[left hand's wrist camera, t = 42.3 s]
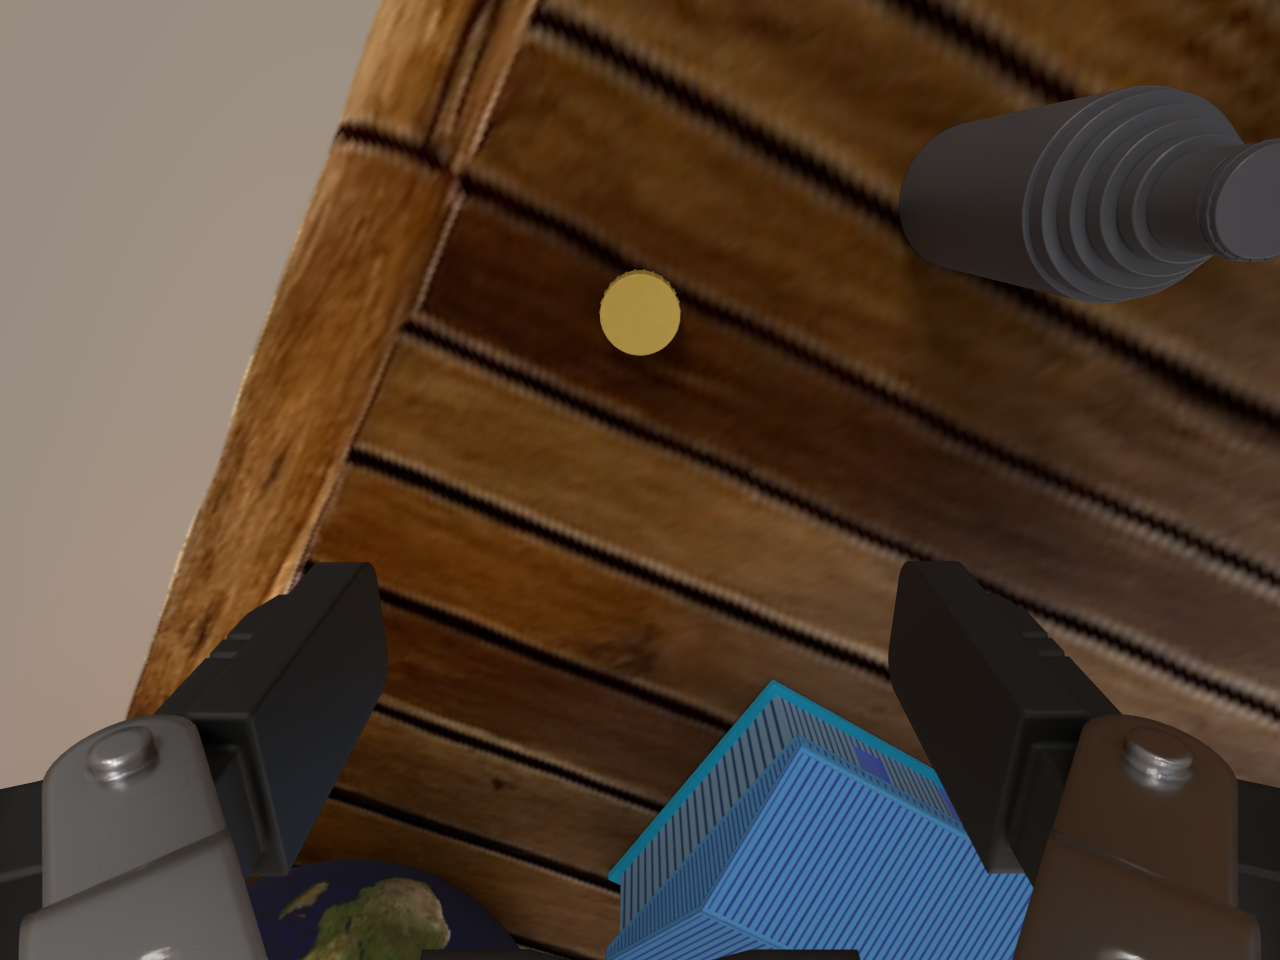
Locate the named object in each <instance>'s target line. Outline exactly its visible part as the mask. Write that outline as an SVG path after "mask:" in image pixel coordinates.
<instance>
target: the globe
mask: <svg viewBox="0 0 1280 960" xmlns="http://www.w3.org/2000/svg"><path fill="white" fill-rule="evenodd" d="M246 888H247V891H248V894H249V898H250V901H251V904H252V908H253V911H254V914H255V918H256V921H257V924H258V928H259V931H260V935H261V938H262V941H263V945H264V948H265V951H266V955H267V958H268V960H419V959H420V956H421V952H422V949H520V948H519V947H518V945H517V944H516V943H515V941H514V940H513V938H512V937H511V936H510V934H509V933H508V932H507V931H506V929H505V928H504V927H503V926H502V925H501V923H500V922H499V921H498V920H497V919H496V918H495V917H494V916H493V915H492V914H491V913H490V912H489V911H488V910H487V909H485V908H484V907H483V906H482V905H481V904H480V903H479V902H477V901H476V900H475V899H474V898H472V897H471V896H470V895H468V894H467V893H465V892H464V891H462V890H461V889H459V888H457V887H456V886H454V885H453V884H451V883H449V882H447V881H445V880H443V879H441V878H439V877H437V876H434V875H432V874H430V873H427V872H424V871H422V870H419V869H415V868H412V867H409V866H406V865H401V864H396V863H391V862H386V861H377V860H364V859H351V860H334V861H324V862H319V863H313V864H307V865H302V866H298V867H295V868H291V869H290V871H289V873H288V875H287V876H266V877H263V878H261V879H258V880H255V881H253V882H251V883H249V884H247V885H246Z"/></svg>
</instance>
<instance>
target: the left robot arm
mask: <svg viewBox="0 0 1280 960" xmlns="http://www.w3.org/2000/svg"><path fill="white" fill-rule="evenodd" d="M1047 635H1048V634H1047V633H1046V631H1045V630H1044V629H1043V628H1042V627H1041V626H1040V625H1039V624H1038V623H1037V622H1036V621H1035V620H1034V618H1033V617H1032V616H1031V615H1030V614H1029V613H1028V612H1027V611H1025V610H1023V609H1022V608H1020V607H1018V606H1017V605H1015V604H1013V603H1012V602H1010V601H1008V600H1007V599H1005V598H1003V597H1002V596H1000V595H998V594H996V593H987V592H986V591H985V590H984V589H983V588H982V587H981V586H980V584H979V583H978V582H977V581H976V580H975V579H974V577H973V576H972V575H971V574H970V573H969V572H968V571H967V569H966V568H965V567H964V566H963V565H962V564H961V563H960V562H958V561H907V562H906V563H904V565H903V566H902V569H901V572H900V576H899V582H898V589H897V595H896V602H895V609H894V616H893V623H892V630H891V637H890V644H889V654H888V663H889V673H890V678H891V683H892V686H893V689H894V691H895V694H896V695H897V697H898V699H899V701H900V703H901V705H902V707H903V709H904V711H905V713H906V715H907V717H908V719H909V721H910V723H911V725H912V727H913V729H914V731H915V733H916V735H917V737H918V739H919V741H920V742H921V744H922V746H923V748H924V750H925V752H926V754H927V756H928V758H929V760H930V762H931V764H932V766H933V768H934V770H935V772H936V774H937V776H938V778H939V780H940V782H941V784H942V786H943V788H944V790H945V791H946V793H947V795H948V797H949V799H950V801H951V803H952V805H953V807H954V809H955V811H956V813H957V815H958V817H959V819H960V821H961V823H962V825H963V827H964V829H965V831H966V833H967V835H968V837H969V838H970V840H971V842H972V844H973V846H974V848H975V850H976V852H977V854H978V856H979V858H980V860H981V862H982V864H983V866H984V868H985V870H986V872H987V874H1026V876H1027V878H1028V880H1029V881H1030V883H1031V885H1032V887H1033V891H1032V894H1031V898H1030V901H1029V904H1028V908H1027V911H1026V914H1025V918H1024V921H1023V924H1022V928H1021V931H1020V934H1019V938H1018V941H1017V945H1016V948H1015V951H1014V955H1013V958H1012V960H1280V788H1276V787H1272V786H1267V785H1262V784H1258V783H1253V782H1248V781H1243V780H1239V779H1236V777H1235V775H1234V773H1233V771H1232V769H1231V768H1230V767H1229V765H1228V764H1227V763H1226V762H1225V761H1224V760H1223V759H1222V758H1221V757H1220V756H1219V755H1218V754H1217V753H1216V752H1215V751H1213V750H1212V749H1211V748H1210V747H1208V746H1207V745H1205V744H1204V743H1202V742H1201V741H1199V740H1198V739H1196V738H1194V737H1192V736H1191V735H1189V734H1187V733H1185V732H1183V731H1181V730H1178V729H1176V728H1174V727H1172V726H1169V725H1166V724H1164V723H1161V722H1158V721H1154V720H1151V719H1147V718H1143V717H1138V716H1131V715H1122V714H1121V713H1120V711H1119V710H1118V709H1117V708H1116V707H1115V706H1114V705H1113V704H1112V703H1111V702H1110V701H1109V700H1108V698H1107V697H1106V696H1105V695H1104V694H1103V693H1102V692H1101V691H1100V690H1099V689H1098V688H1097V687H1096V685H1095V684H1094V683H1093V682H1092V681H1091V680H1090V679H1089V678H1088V677H1087V676H1086V675H1085V674H1084V673H1083V671H1082V670H1081V669H1080V668H1079V667H1078V666H1077V665H1076V664H1075V663H1074V662H1073V661H1072V660H1071V658H1070V657H1065V655H1064V651H1063V650H1062V649H1061V648H1060V647H1059V645H1058V644H1057V643H1056V642H1055V641H1054V640H1053V639H1052V638H1048V636H1047ZM387 667H388V652H387V644H386V637H385V630H384V623H383V617H382V610H381V603H380V596H379V589H378V583H377V577H376V573H375V570H374V568H373V566H372V565H371V564H370V563H368V562H319V563H316V564H315V565H314V566H313V567H312V568H311V569H310V570H309V571H308V572H307V573H306V575H305V576H304V577H303V578H302V579H301V580H300V581H299V583H298V584H297V585H296V586H295V587H294V588H293V589H292V591H291V592H290V593H289V594H288V595H278V596H276V597H274V598H273V599H271V600H269V601H268V602H266V603H264V604H263V605H261V606H259V607H258V608H256V609H254V610H253V611H251V612H249V613H248V614H247V615H246V616H245V617H244V618H243V619H242V620H241V621H240V622H239V623H238V624H237V625H236V626H235V627H234V629H233V630H232V631H231V632H230V633H229V634H228V635H227V640H222V641H221V642H220V644H219V645H218V646H217V647H216V648H215V649H214V650H213V651H212V652H211V653H210V658H206V659H205V660H204V661H203V662H202V663H201V664H200V665H199V666H198V667H197V668H196V669H195V670H194V671H193V672H192V674H191V675H190V676H189V677H188V678H187V679H186V680H185V681H184V682H183V683H182V684H181V685H180V686H179V687H178V689H177V690H176V691H175V692H174V693H173V694H172V695H171V696H170V697H169V698H168V699H167V700H166V701H165V702H164V704H163V705H162V706H161V707H160V708H159V709H158V710H157V711H156V712H155V713H154V714H153V715H149V716H142V717H137V718H133V719H129V720H126V721H122V722H119V723H116V724H114V725H111V726H108V727H106V728H104V729H102V730H99V731H97V732H95V733H93V734H91V735H89V736H88V737H86V738H84V739H82V740H81V741H79V742H78V743H76V744H75V745H73V746H72V747H70V748H69V749H68V750H67V751H66V752H64V753H63V754H62V755H61V756H60V757H59V758H58V759H57V760H56V761H55V762H54V763H53V764H52V765H51V767H50V768H49V770H48V771H47V773H46V775H45V777H44V779H43V780H41V781H37V782H32V783H28V784H23V785H18V786H14V787H9V788H4V789H0V960H268V958H267V955H266V951H265V948H264V945H263V941H262V938H261V935H260V931H259V928H258V924H257V921H256V918H255V914H254V911H253V908H252V904H251V901H250V898H249V894H248V891H247V888H246V884H245V882H246V880H247V879H248V877H249V876H287V875H288V873H289V871H290V869H291V867H292V865H293V864H294V862H295V860H296V858H297V856H298V854H299V852H300V850H301V848H302V846H303V844H304V842H305V840H306V838H307V836H308V835H309V833H310V831H311V829H312V827H313V825H314V823H315V821H316V819H317V817H318V815H319V813H320V811H321V809H322V807H323V805H324V804H325V802H326V800H327V798H328V796H329V794H330V792H331V790H332V788H333V786H334V784H335V782H336V780H337V778H338V776H339V775H340V773H341V771H342V769H343V767H344V765H345V763H346V761H347V759H348V757H349V755H350V753H351V751H352V749H353V747H354V745H355V744H356V742H357V740H358V738H359V736H360V734H361V732H362V730H363V728H364V726H365V724H366V722H367V720H368V718H369V716H370V715H371V713H372V711H373V709H374V707H375V705H376V703H377V701H378V699H379V697H380V695H381V693H382V691H383V688H384V685H385V681H386V676H387ZM419 960H567V959H564V958H560V957H556V956H552V955H549V954H545V953H541V952H537V951H534V950H530V949H422V952H421V956H420V959H419ZM713 960H861V959H860V956H859V952H858V949H750V950H746V951H743V952H739V953H735V954H731V955H728V956H724V957H720V958H716V959H713Z"/></svg>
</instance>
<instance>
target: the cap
mask: <svg viewBox="0 0 1280 960" xmlns="http://www.w3.org/2000/svg"><path fill="white" fill-rule="evenodd" d="M675 294H676V293H675V290H674V289H672V287H671V286H670V283H669V281H668V282H667V281H666V280H665V279H664V278H663V277H662V276H659V275H658V274H655V273H654V272H653V271H652V272H650V271H645V269H643V270H636V269H635V270H634V271H631V272H625V274H623V275H621V276H617V279H615V280H614V281H613V282H611V283H610V286H609V287H608V289H607V290H605V293H604V298H602V301H601V309H600V312H599V313H600V323H601V325H602V329H603V332H604V333H605V335H606V337H607V338H608V340H609V341H610V342H611V343H612V344H613V345H614V346H615V347H616V348H618V349H619V350H621V351H623V352H625V353H628V354H632V355H649V354H652V353H655V352H657V351H659V350H661V349H663V348H664V347H665V346H666V345H667V344H668V343H670V341H671V340H672V339H673V337H674V336H675V334H676V332H677V330H678V326H679V322H680V312H681V310H680V307H679V300H678V297H676V295H675Z"/></svg>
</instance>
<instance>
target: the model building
mask: <svg viewBox="0 0 1280 960" xmlns="http://www.w3.org/2000/svg"><path fill="white" fill-rule="evenodd" d="M608 879H609V880H611V881H613V882H615V883H617V884H619V885H621V893H620V929H619V935H618V936H617V937H616V938H615V939H614V940H613V941H612V943H611V944H610V945H609V946H608V947H607V949H606V960H713V959H716V958H720V957H724V956H728V955H731V954H735V953H739V952H743V951H746V950H750V949H858V952H859V956H860V959H861V960H1012V958H1013V955H1014V951H1015V948H1016V945H1017V941H1018V938H1019V934H1020V931H1021V928H1022V924H1023V921H1024V918H1025V914H1026V911H1027V908H1028V904H1029V901H1030V898H1031V894H1032V891H1033V887H1032V885H1031V883H1030V881H1029V880H1028V878H1027V876H1026V874H987V872H986V870H985V868H984V866H983V864H982V862H981V860H980V858H979V856H978V854H977V852H976V850H975V848H974V846H973V844H972V842H971V840H970V838H969V837H968V835H967V833H966V831H965V829H964V827H963V825H962V823H961V821H960V819H959V817H958V815H957V813H956V811H955V809H954V807H953V805H952V803H951V801H950V799H949V797H948V795H947V793H946V791H945V790H944V788H943V786H942V784H941V782H940V780H939V778H938V776H937V774H936V772H935V770H934V769H933V768H931V767H930V766H928V765H926V764H924V763H922V762H921V761H919V760H917V759H915V758H913V757H912V756H910V755H908V754H906V753H904V752H903V751H901V750H899V749H897V748H895V747H894V746H892V745H890V744H888V743H886V742H885V741H883V740H881V739H879V738H877V737H876V736H874V735H872V734H870V733H868V732H867V731H865V730H863V729H861V728H860V727H858V726H856V725H854V724H852V723H851V722H849V721H847V720H845V719H843V718H842V717H840V716H838V715H836V714H834V713H833V712H831V711H829V710H827V709H825V708H824V707H822V706H820V705H818V704H816V703H815V702H813V701H811V700H809V699H807V698H806V697H804V696H802V695H800V694H798V693H797V692H795V691H793V690H791V689H789V688H788V687H786V686H784V685H782V684H780V683H779V682H777V681H775V680H773V679H772V681H771V682H770V683H769V684H768V685H767V686H766V688H765V689H764V690H763V691H762V692H761V694H760V695H759V696H758V697H757V698H756V699H755V701H754V702H753V703H752V704H751V705H750V707H749V708H748V709H747V710H746V711H745V712H744V714H743V715H742V716H741V717H740V718H739V720H738V721H737V722H736V723H735V724H734V726H733V727H732V728H731V729H730V730H729V731H728V733H727V734H726V735H725V736H724V737H723V739H722V740H721V741H720V742H719V743H718V744H717V746H716V747H715V748H714V749H713V750H712V752H711V753H710V754H709V755H708V756H707V757H706V759H705V760H704V761H703V762H702V763H701V765H700V766H699V767H698V768H697V769H696V770H695V772H694V773H693V774H692V775H691V776H690V778H689V779H688V780H687V781H686V782H685V784H684V785H683V786H682V787H681V788H680V789H679V791H678V792H677V793H676V794H675V795H674V797H673V798H672V799H671V800H670V801H669V802H668V804H667V805H666V806H665V807H664V808H663V810H662V811H661V812H660V813H659V814H658V815H657V817H656V818H655V819H654V820H653V821H652V823H651V824H650V825H649V826H648V827H647V829H646V830H645V831H644V832H643V833H642V834H641V836H640V837H639V838H638V839H637V840H636V842H635V843H634V844H633V845H632V846H631V847H630V849H629V850H628V851H627V852H626V853H625V855H624V856H623V857H622V858H621V859H620V860H619V862H618V863H617V864H616V865H615V866H614V868H613V869H612V870H611V871H610V872H609V873H608Z"/></svg>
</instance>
